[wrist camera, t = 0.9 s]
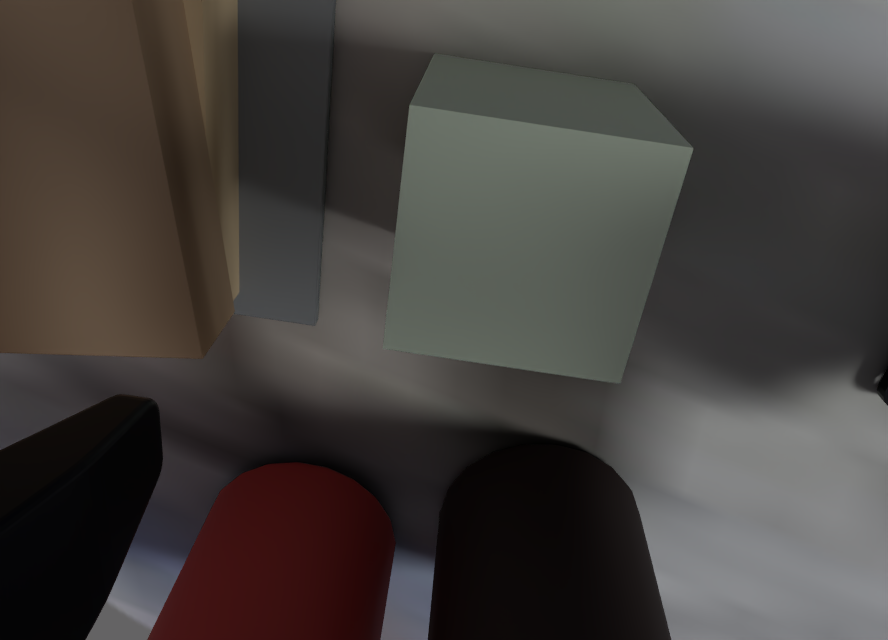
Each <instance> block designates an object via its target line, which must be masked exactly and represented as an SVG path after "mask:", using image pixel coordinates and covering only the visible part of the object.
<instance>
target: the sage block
mask: <svg viewBox="0 0 888 640" xmlns="http://www.w3.org/2000/svg"><path fill="white" fill-rule="evenodd" d="M693 149H694V148H693V147H692V146H691V145H690V144H689V142H688V141H687V140H686V139H685V138H684V137H683V136H682V135H681V134H680V133H679V132H678V131H677V130H676V128H675V127H674V126H673V125H672V124H671V123H670V122H669V121H668V120H667V119H666V118H665V117H664V116H663V114H662V113H661V112H660V111H659V110H658V109H657V108H656V107H655V106H654V105H653V104H652V103H651V102H650V100H649V99H648V98H647V97H646V96H645V95H644V94H643V93H642V92H641V91H640V90H639V89H638V88H637V86H636V85H635V84H631V83H625V82H618V81H612V80H605V79H599V78H592V77H586V76H579V75H573V74H566V73H560V72H553V71H547V70H540V69H534V68H527V67H521V66H514V65H508V64H501V63H495V62H488V61H482V60H475V59H469V58H462V57H456V56H449V55H443V54H436V53H434V55H433V57H432V59H431V61H430V63H429V66H428V68H427V70H426V72H425V74H424V76H423V78H422V80H421V82H420V84H419V86H418V88H417V90H416V92H415V94H414V96H413V99H412V101H411V103H410V105H409V114H408V123H407V132H406V141H405V150H404V159H403V168H402V178H401V187H400V196H399V205H398V214H397V223H396V232H395V241H394V250H393V259H392V269H391V278H390V287H389V296H388V305H387V314H386V323H385V332H384V341H383V349H388V350H395V351H401V352H408V353H415V354H422V355H428V356H435V357H442V358H449V359H455V360H462V361H469V362H476V363H482V364H489V365H496V366H502V367H509V368H516V369H523V370H529V371H536V372H543V373H550V374H556V375H563V376H570V377H577V378H583V379H590V380H597V381H604V382H610V383H617V384H621V380H622V377H623V374H624V371H625V368H626V364H627V361H628V358H629V355H630V351H631V348H632V345H633V342H634V339H635V335H636V332H637V329H638V326H639V323H640V319H641V316H642V313H643V310H644V306H645V303H646V300H647V297H648V294H649V290H650V287H651V284H652V281H653V278H654V274H655V271H656V268H657V265H658V262H659V258H660V255H661V252H662V249H663V245H664V242H665V239H666V236H667V233H668V229H669V226H670V223H671V220H672V217H673V213H674V210H675V207H676V204H677V200H678V197H679V194H680V191H681V188H682V184H683V181H684V178H685V175H686V172H687V168H688V165H689V162H690V159H691V155H692V152H693Z"/></svg>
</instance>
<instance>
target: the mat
mask: <svg viewBox="0 0 888 640" xmlns="http://www.w3.org/2000/svg"><path fill="white" fill-rule="evenodd" d="M335 7H336V0H238V147H239V293H238V295H237V296H236V298H235V299H234V301H233V303H234V309H235V312H234V313H233V314H239V315H245V316H252V317H259V318H266V319H272V320H279V321H286V322H293V323H299V324H306V325H313V326H315V325H316V323H317V320H318V310H319V292H320V274H321V256H322V238H323V221H324V203H325V185H326V167H327V149H328V131H329V114H330V96H331V78H332V60H333V42H334V24H335Z"/></svg>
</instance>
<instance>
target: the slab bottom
mask: <svg viewBox="0 0 888 640" xmlns="http://www.w3.org/2000/svg"><path fill="white" fill-rule="evenodd" d="M183 2H184V8H185V14H186V20H187V26H188V32H189V38H190V44H191V50H192V56H193V62H194V68H195V74H196V80H197V87H198V93H199V99H200V105H201V111H202V117H203V123H204V129H205V135H206V141H207V147H208V153H209V159H210V165H211V171H212V177H213V183H214V189H215V195H216V201H217V207H218V213H219V219H220V225H221V231H222V237H223V243H224V249H225V255H226V261H227V267H228V273H229V279H230V285H231V291H232V297H233V301H234V299H235V298H236V296H237V295H238V293H239V147H238V0H183Z"/></svg>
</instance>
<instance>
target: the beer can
mask: <svg viewBox="0 0 888 640" xmlns="http://www.w3.org/2000/svg"><path fill="white" fill-rule="evenodd" d="M395 544H396V542H395V538H394V533H393V529H392V525H391V521H390V518H389V517H388V515H387V514H386V512H385V511H384V509H383V508H382V506H381V505H380V503H379V502H378V500H377V499H376V497H375V496H373V495H372V494H371V493H370V492H369V491H367V490H366V489H365V488H364V487H362V486H361V485H360V484H359V483H357V482H356V481H355V480H354V479H352V478H350V477H348V476H346V475H343V474H341V473H339V472H337V471H334V470H332V469H330V468H328V467H323V466H318V465H313V464H307V463H302V462H291V463H275V464H267V465H264V466H261V467H258V468H256V469H253V470H250V471H247V472H244V473H242V474H241V475H239V476H238V477H237V478H236V479H234V480H233V481H232V482H231V483H229V484H228V485H227V486H226V487H224V488H223V489H222V490H221V491H220V493H219V495H218V497H217V499H216V501H215V503H214V504H213V506H212V508H211V510H210V512H209V514H208V516H207V518H206V521H205V523H204V525H203V527H202V529H201V531H200V533H199V535H198V537H197V539H196V541H195V543H194V545H193V547H192V549H191V551H190V553H189V555H188V557H187V559H186V561H185V564H184V566H183V568H182V570H181V572H180V574H179V576H178V578H177V580H176V582H175V584H174V586H173V588H172V590H171V592H170V594H169V596H168V598H167V600H166V602H165V604H164V607H163V609H162V611H161V613H160V615H159V617H158V619H157V621H156V623H155V625H154V627H153V629H152V631H151V633H150V635H149V637H148V640H380V638H381V632H382V626H383V619H384V613H385V607H386V601H387V594H388V588H389V582H390V576H391V569H392V563H393V557H394V551H395Z"/></svg>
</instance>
